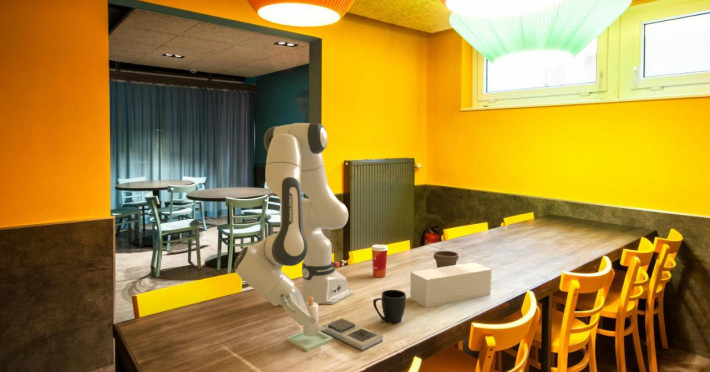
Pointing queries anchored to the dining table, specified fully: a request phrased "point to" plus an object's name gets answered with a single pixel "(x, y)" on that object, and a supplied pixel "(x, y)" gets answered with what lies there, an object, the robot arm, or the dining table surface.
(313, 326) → the white candle
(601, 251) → the dining table surface
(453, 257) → the flower pot
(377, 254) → the paper cup
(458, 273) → the stack of papers
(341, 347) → the dining table surface
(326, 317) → the dining table surface
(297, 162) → the robot arm
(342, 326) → the grey rectangular piece
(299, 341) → the tray
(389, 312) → the mug
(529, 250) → the dining table surface
